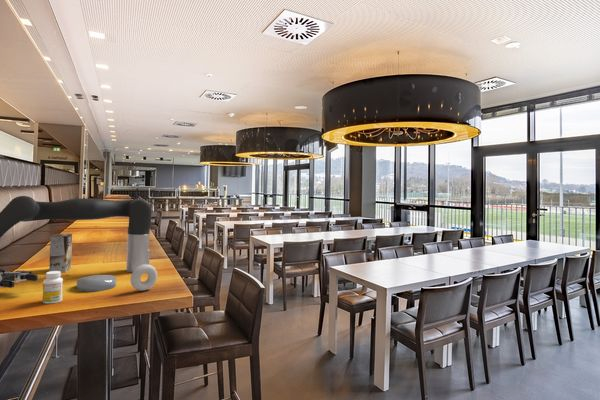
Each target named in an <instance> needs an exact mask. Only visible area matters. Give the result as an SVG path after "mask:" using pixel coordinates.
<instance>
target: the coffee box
mask: <svg viewBox="0 0 600 400" xmlns="http://www.w3.org/2000/svg"><path fill="white" fill-rule="evenodd" d="M49 239H50V240H49V265H48V266H49V270H48V272H50V271H60V272H61V273H67V272H68V271H69V270H71V269H72V247H73V246H72V243H73V233H55V234H52V235H50V236H49Z"/></svg>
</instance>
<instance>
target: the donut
mask: <svg viewBox="0 0 600 400" xmlns="http://www.w3.org/2000/svg"><path fill="white" fill-rule="evenodd" d="M145 274H146V275H147V279H146V280H145V281H142V280H141V277H142V276H143V275H145ZM129 280H130V285H131V286H132V288H133V289H135V291H142V292H144V291H147V290H149V289H151V288H153V286H154V285H155V284H156V282H157V280H158V271H157V269H156V268H155V267H154V266H153V265H151V264H149V265H148V264H144V265H140V266H139V267H137V268H136V269H135V270H134V271H133V272H131V274H130V279H129Z"/></svg>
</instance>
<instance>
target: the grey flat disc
mask: <svg viewBox="0 0 600 400" xmlns="http://www.w3.org/2000/svg"><path fill="white" fill-rule="evenodd" d="M116 286H117V276H115V275H111V274H94V275H88V276H84V277H79V278H77V279H76V290H77V291H78V292H87V293H88V292H91V293H96V292H102V291H107V290H111V289H114V288H115V287H116Z"/></svg>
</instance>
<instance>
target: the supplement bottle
mask: <svg viewBox="0 0 600 400" xmlns="http://www.w3.org/2000/svg"><path fill="white" fill-rule="evenodd" d="M61 276H62V272H60V271H50V272H49V271H47V272H45V278H44V280H43V282H42V303H43V304H48V305H49V304H57V303H60V302H62V301H63V298H64V297H63V296H64V295H63V294H64V293H63V292H64V289H63V288H64V279H63V277H61Z"/></svg>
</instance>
